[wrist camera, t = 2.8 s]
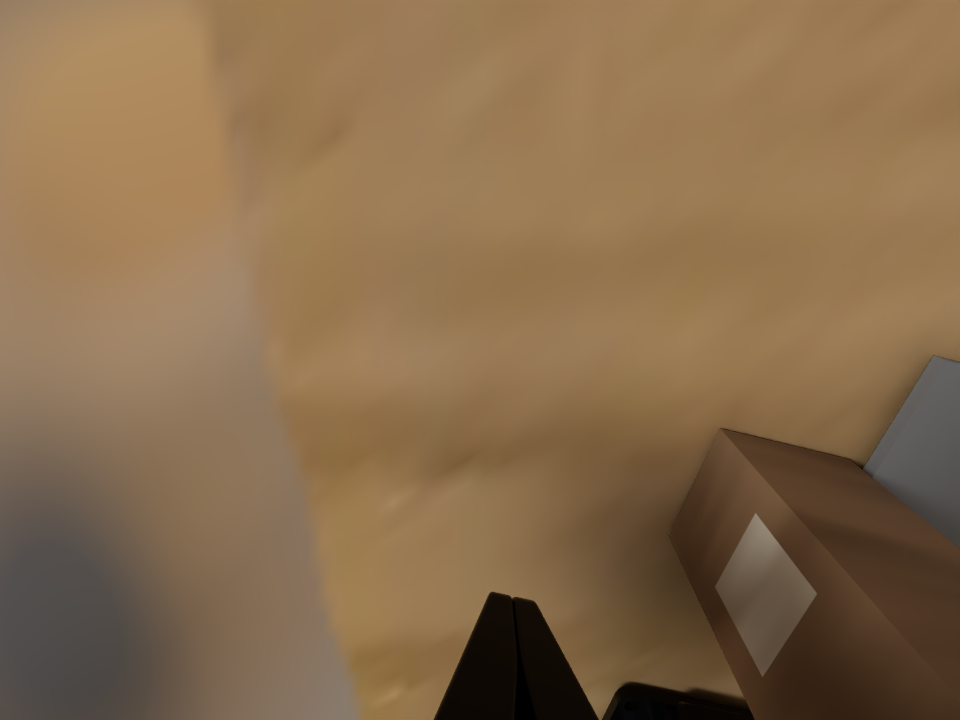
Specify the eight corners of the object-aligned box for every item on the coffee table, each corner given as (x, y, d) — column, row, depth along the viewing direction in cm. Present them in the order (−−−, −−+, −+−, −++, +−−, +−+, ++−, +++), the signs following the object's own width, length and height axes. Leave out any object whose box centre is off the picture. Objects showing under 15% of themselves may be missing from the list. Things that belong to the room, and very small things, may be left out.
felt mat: (967, 689, 17) (978, 701, 17) (754, 642, 17) (760, 653, 16) (1204, 423, 13) (1224, 430, 13) (933, 355, 13) (946, 360, 12)
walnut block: (786, 562, 15) (1055, 922, 8) (668, 535, 15) (828, 877, 8) (849, 459, 14) (1244, 777, 7) (719, 428, 14) (974, 719, 6)
